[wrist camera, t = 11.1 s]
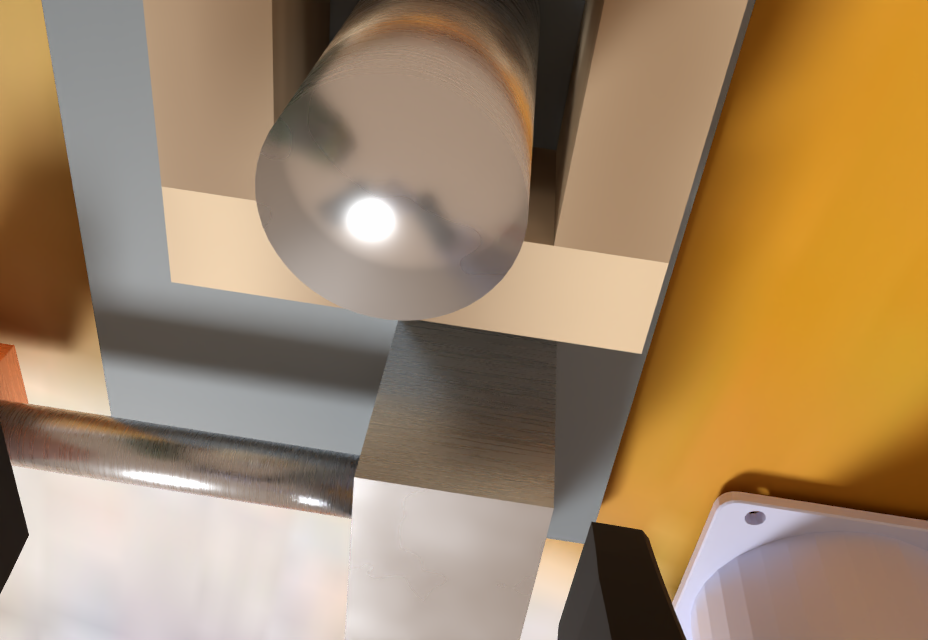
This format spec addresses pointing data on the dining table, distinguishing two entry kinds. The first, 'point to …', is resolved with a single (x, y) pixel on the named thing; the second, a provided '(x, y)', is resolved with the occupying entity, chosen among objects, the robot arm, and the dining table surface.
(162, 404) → the board
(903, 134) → the dining table surface
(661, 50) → the socket
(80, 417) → the orange grey long bar
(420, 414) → the block
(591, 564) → the robot arm
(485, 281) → the peg
